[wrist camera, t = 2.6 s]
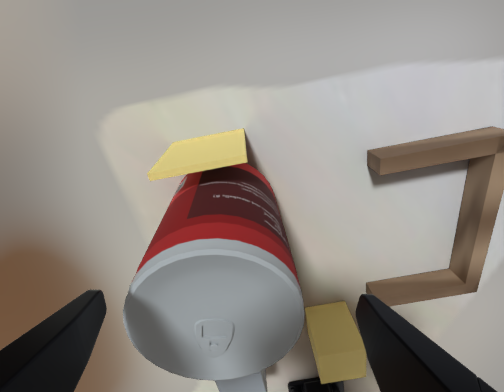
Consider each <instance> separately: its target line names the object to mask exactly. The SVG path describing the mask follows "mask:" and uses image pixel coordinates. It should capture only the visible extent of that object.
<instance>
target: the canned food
mask: <svg viewBox="0 0 504 392" xmlns="http://www.w3.org/2000/svg"><path fill="white" fill-rule="evenodd" d="M304 315H305V311H304V306H303V297H302V292H301V287H300V284H299V280H298V277H297V272H296V268H295V265H294V261H293V258H292V254H291V251H290V247H289V244H288V240H287V237H286V234H285V230H284V227H283V223H282V220H281V216H280V213H279V210H278V206H277V203H276V199H275V196H274V193H273V190H272V188H271V186H270V184H269V182H268V181H267V180H266V178H265V177H264V176H263V175H262V174H261V173H260V172H259V171H258V170H257V169H255V168H253V167H252V166H250V165H248V164H246V163H241V164H236V165H231V166H225V167H220V168H215V169H210V170H205V171H199V172H194V173H189V174H187V175H186V176H185V177H184V179H183V180H182V181H181V183H180V185H179V187H178V189H177V191H176V193H175V195H174V197H173V199H172V201H171V203H170V205H169V207H168V209H167V211H166V213H165V215H164V217H163V219H162V221H161V223H160V225H159V227H158V229H157V231H156V233H155V235H154V237H153V239H152V241H151V243H150V245H149V247H148V249H147V251H146V253H145V255H144V257H143V259H142V261H141V263H140V265H139V267H138V270H137V272H136V274H135V276H134V278H133V280H132V283H131V285H130V287H129V291H128V295H127V296H126V300H125V305H124V309H123V318H124V326H125V329H126V332H127V335H128V337H129V338H130V340H131V342H132V343H133V345H134V347H135V348H136V349H137V350H138V351H139V352H140V353H141V354H142V355H143V356H144V357H145V358H146V359H148V360H149V361H151V362H152V363H153V364H155V365H156V366H158V367H160V368H162V369H164V370H166V371H169V372H171V373H174V374H177V375H180V376H183V377H187V378H193V379H199V380H229V379H235V378H240V377H245V376H248V375H251V374H254V373H257V372H260V371H262V370H264V369H266V368H268V367H270V366H272V365H273V364H275V363H276V362H277V361H279V360H280V359H282V358H283V357H284V356H285V355H286V354H287V353H288V352H289V351H290V350H291V349H292V348H293V346H294V345H295V343H296V342H297V340H298V338H299V337H300V334H301V331H302V328H303V326H304Z"/></svg>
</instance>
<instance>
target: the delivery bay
mask: <svg viewBox="0 0 504 392" xmlns="http://www.w3.org/2000/svg"><path fill="white" fill-rule="evenodd" d="M465 159H470V161H469V166H468V172H467V177H466V182H465V188H464V193H463V198H462V203H461V209H460V214H459V219H458V224H457V230H456V235H455V240H454V246H453V251H452V256H451V261H450V267H449V269H444V270H438V271H432V272H426V273H420V274H414V275H409V276H403V277H397V278H391V279H385V280H379V281H374V282H368V283H366V292H367V294H373V295H375V296H376V297H377V298H379V299H380V300H381V301H382V302H384V303H385V304H386V305H387V306H395V305H401V304H407V303H413V302H419V301H425V300H431V299H437V298H443V297H449V296H455V295H461V294H466V293H472V292H477V289H478V285H479V281H480V278H481V274H482V270H483V266H484V262H485V258H486V255H487V251H488V247H489V243H490V239H491V236H492V232H493V228H494V224H495V220H496V217H497V213H498V209H499V205H500V201H501V198H502V194H503V190H504V129H501V128H496V127H487V128H482V129H477V130H471V131H466V132H461V133H456V134H450V135H445V136H440V137H435V138H429V139H424V140H419V141H414V142H409V143H403V144H398V145H393V146H388V147H382V148H377V149H372V150H368V155H367V166H369V167H370V168H371V169H373V170H374V171H375V172H376V173H378V174H379V175H385V174H390V173H396V172H401V171H406V170H412V169H417V168H422V167H428V166H433V165H438V164H444V163H449V162H454V161H460V160H465Z"/></svg>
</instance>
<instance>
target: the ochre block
mask: <svg viewBox="0 0 504 392" xmlns="http://www.w3.org/2000/svg"><path fill="white" fill-rule="evenodd" d="M305 314H306V321H307V329H308V335H309V339H310V343H311V346H312V350H313V354H314V358H315V362H316V365H317V369H318V373H319V377H320V381H321V384H325V383H331V382H338V381H344V380H350V379H356V378H363V377H366V350H365V347H364V343H363V340H362V338H361V336H360V333H359V331H358V329H357V327H356V325H355V322H354V320H353V318H352V316H351V314H350V311H349V309H348V307H347V305H346V303H345V301H341V302H336V303H330V304H324V305H318V306H312V307H306V308H305Z"/></svg>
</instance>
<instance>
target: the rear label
mask: <svg viewBox="0 0 504 392" xmlns="http://www.w3.org/2000/svg"><path fill="white" fill-rule="evenodd" d="M246 162H248V161H247V151H246V141H245V133H244V128H243V129H238V130H233V131H228V132H223V133H218V134H213V135H208V136H203V137H198V138H193V139H188V140H182V141H177V142H173V143H172V145H171V146H170V147H169V148H168V149H167V151H166V152H165V153H164V154H163V155H162V157H161V158H160V159H159V160H158V161H157V163H156V164H155V165H154V166H153V167H152V169H151V170H150V171H149V172H148V173H147V174H148V177H149V180H150V181H153V180H158V179H163V178H168V177H173V176H179V175H184V174H189V173H194V172H199V171H205V170H210V169H215V168H220V167H225V166H231V165H236V164H241V163H246Z"/></svg>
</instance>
